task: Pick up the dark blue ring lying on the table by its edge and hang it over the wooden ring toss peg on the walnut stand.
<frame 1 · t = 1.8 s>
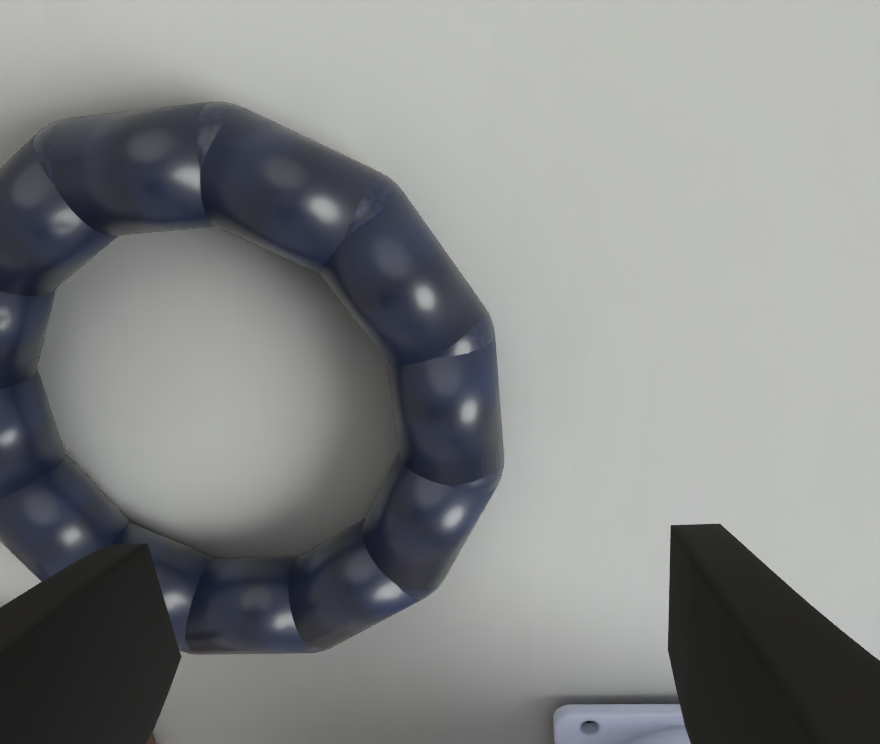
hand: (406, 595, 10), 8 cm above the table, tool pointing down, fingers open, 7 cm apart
dark blue ring: (212, 414, 16), point 1 cm above the table
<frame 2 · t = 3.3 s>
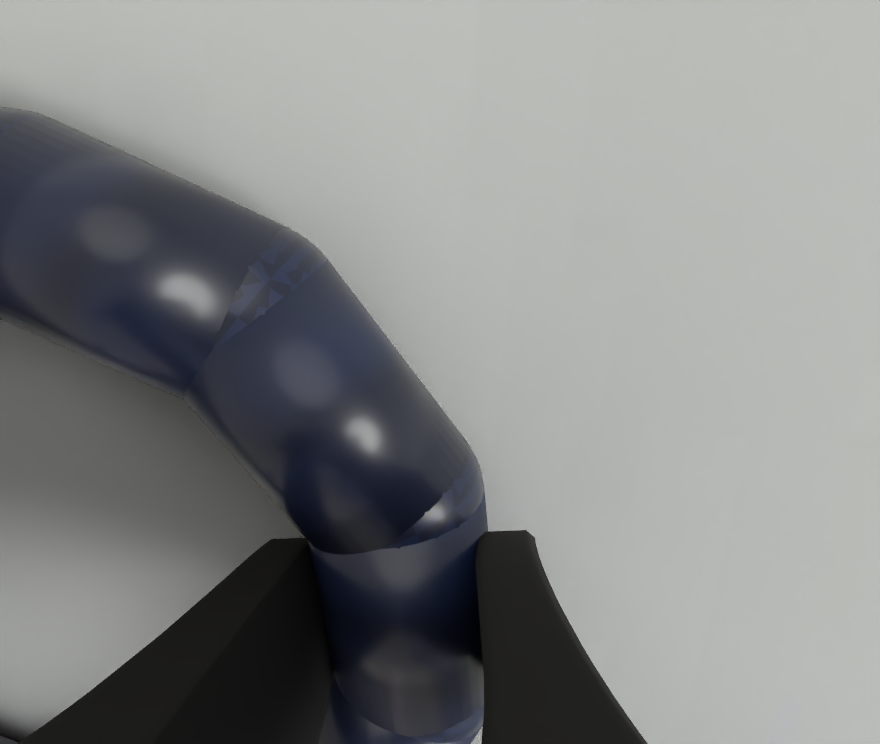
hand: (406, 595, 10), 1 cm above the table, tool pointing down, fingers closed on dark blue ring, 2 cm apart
dark blue ring: (43, 595, 11), point 1 cm above the table, touching gripper
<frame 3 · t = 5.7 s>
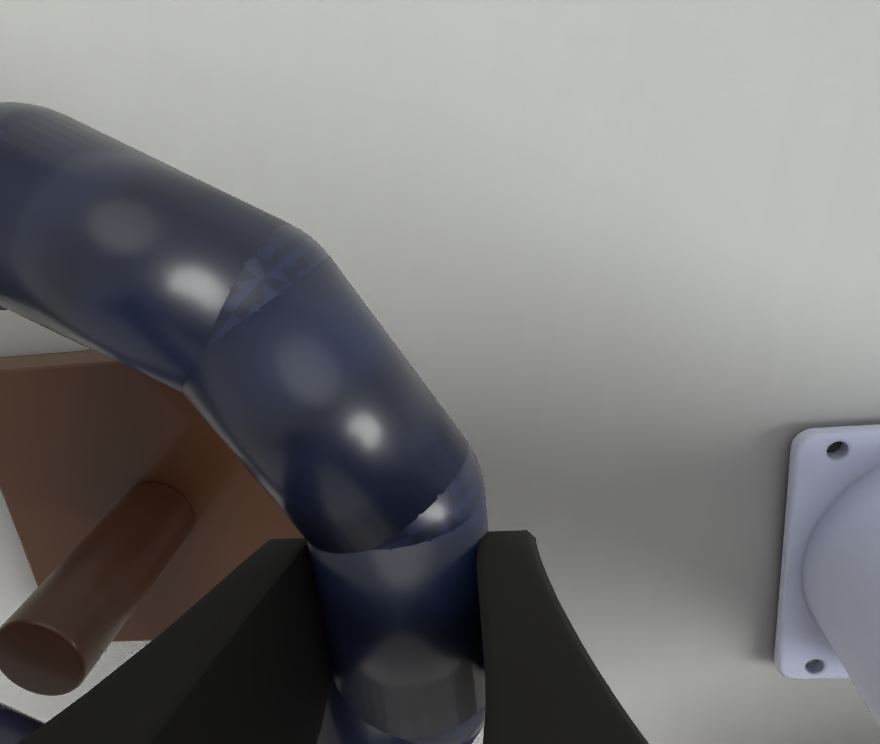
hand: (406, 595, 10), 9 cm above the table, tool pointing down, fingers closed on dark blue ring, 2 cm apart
dark blue ring: (55, 579, 11), point 9 cm above the table, touching gripper
wooden ring toss peg: (177, 490, 21), on the table
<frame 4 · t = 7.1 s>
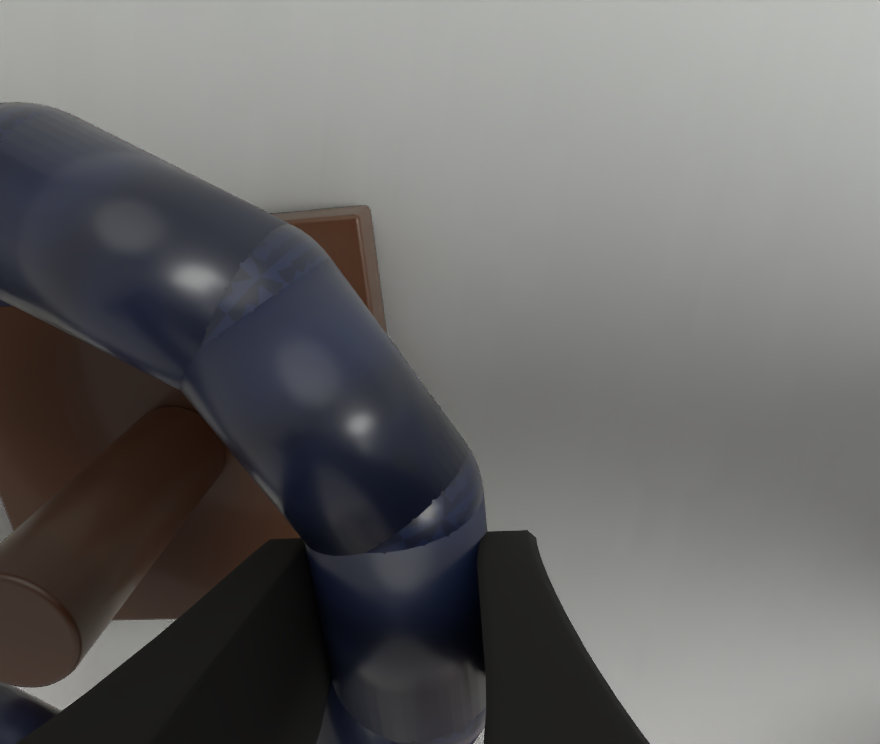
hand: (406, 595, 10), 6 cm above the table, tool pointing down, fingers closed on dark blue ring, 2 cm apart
dark blue ring: (64, 570, 11), point 5 cm above the table, tilted 7°, touching gripper
wooden ring toss peg: (202, 423, 16), on the table
when the fingers open (4 cm above the table, at t = 8.1 s): dark blue ring stays where it is, resting on wooden ring toss peg.
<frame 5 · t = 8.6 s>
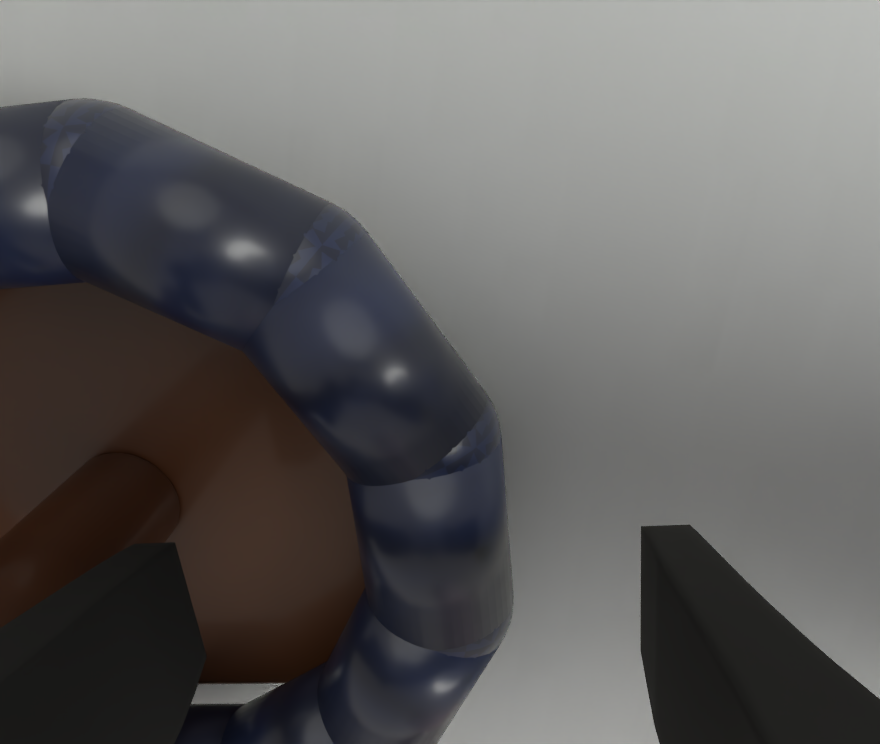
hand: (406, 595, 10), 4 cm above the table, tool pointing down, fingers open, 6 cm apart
dark blue ring: (107, 534, 12), point 2 cm above the table, touching wooden ring toss peg
wooden ring toss peg: (158, 466, 14), on the table
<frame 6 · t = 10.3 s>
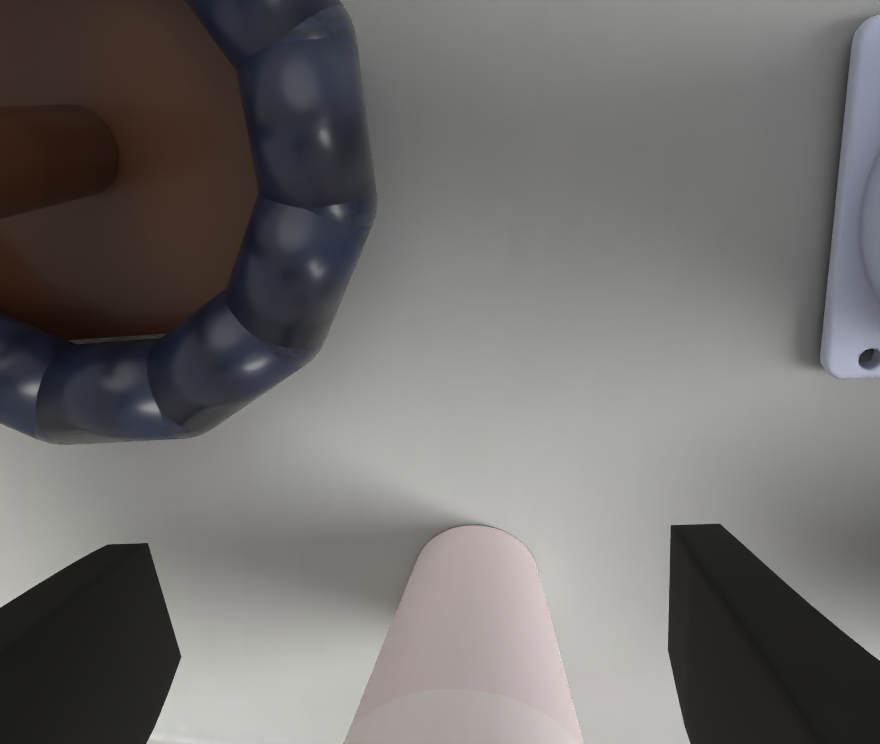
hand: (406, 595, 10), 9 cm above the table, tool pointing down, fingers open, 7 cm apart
smoothie: (475, 573, 21), on the table
dark blue ring: (55, 152, 15), point 2 cm above the table, touching wooden ring toss peg
wooden ring toss peg: (104, 147, 17), on the table
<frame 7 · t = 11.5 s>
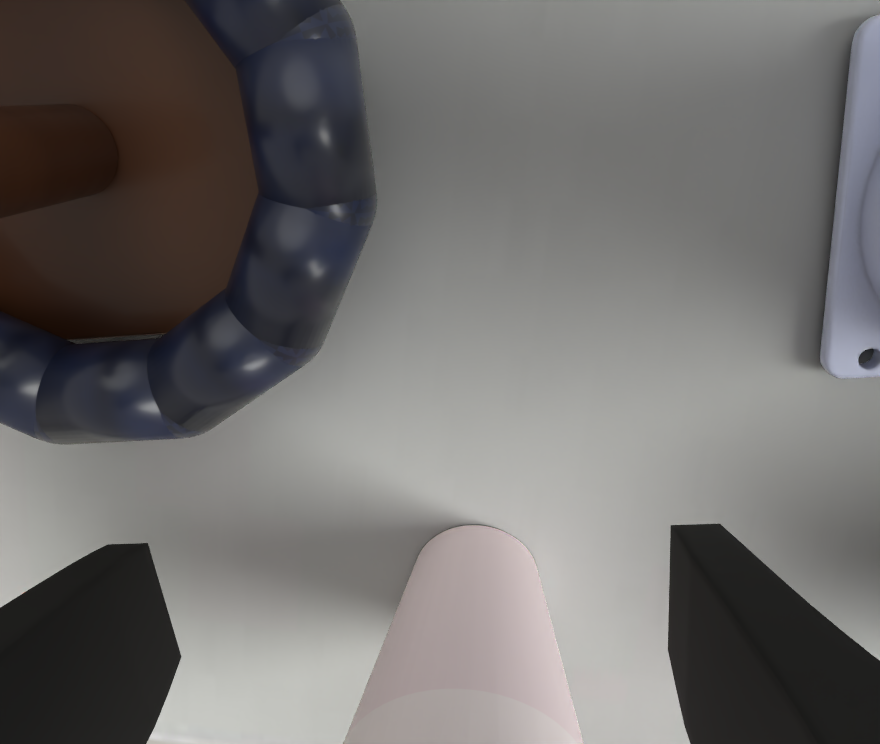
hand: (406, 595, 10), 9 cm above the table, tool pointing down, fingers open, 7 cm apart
smoothie: (475, 573, 21), on the table
dark blue ring: (55, 152, 15), point 2 cm above the table, touching wooden ring toss peg
wooden ring toss peg: (104, 147, 17), on the table
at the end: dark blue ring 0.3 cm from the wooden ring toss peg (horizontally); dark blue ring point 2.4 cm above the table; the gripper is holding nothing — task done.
